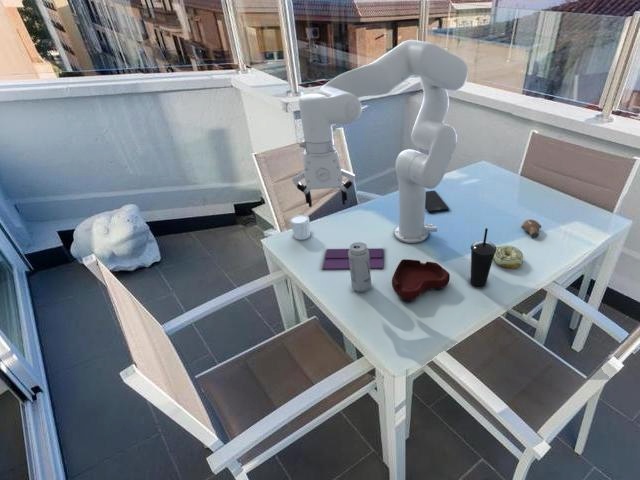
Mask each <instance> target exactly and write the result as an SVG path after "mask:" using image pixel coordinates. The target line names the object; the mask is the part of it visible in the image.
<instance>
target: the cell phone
mask: <svg viewBox="0 0 640 480" xmlns="http://www.w3.org/2000/svg"><path fill="white" fill-rule="evenodd" d="M425 210H426V211H427V212H428V213H429V214H432V213H440V212H448V211H450V208H449V207H448V205H447V204H446V202H445V201H444V200H443V199H442V197H440V195H439V194H438V193H437V191H436V190H427V191H426V198H425Z"/></svg>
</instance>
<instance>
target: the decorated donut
mask: <svg viewBox="0 0 640 480" xmlns="http://www.w3.org/2000/svg"><path fill="white" fill-rule="evenodd" d="M495 246H496V245H495ZM496 248H497V250H496V253H495V254H494V257H493V262H495V264H497V265H498V266H500V267H501V268H504V269H510V270H513V269H516V268H518V267H520V265H521V264H522V262H523V261H524V254H523V252H522V251H521V249H519V248H517V247H515V246H514V245H509V244H503V245H497V246H496Z"/></svg>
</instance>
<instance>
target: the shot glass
mask: <svg viewBox="0 0 640 480" xmlns="http://www.w3.org/2000/svg"><path fill="white" fill-rule="evenodd" d="M289 223H290V226H291V229H292V232H293V236H294V239H296V240H301V241H304V240H308V239H309V238H310V237H311V227H310V226H311V225H310V217H309V216H308V215H305V214H298V215H294V216H292V217H291V218H290V219H289Z"/></svg>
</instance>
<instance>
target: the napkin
mask: <svg viewBox="0 0 640 480" xmlns="http://www.w3.org/2000/svg"><path fill="white" fill-rule="evenodd" d="M349 249H350V248H327V249H326V250H325V251H326V252H325V256H324V259H323V265H322V270H350V264H349V254H348V251H349ZM368 250H369V259H370V270H376V269H377V270H379V269H381V270H382V269H384V249H383V248H368Z"/></svg>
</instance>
